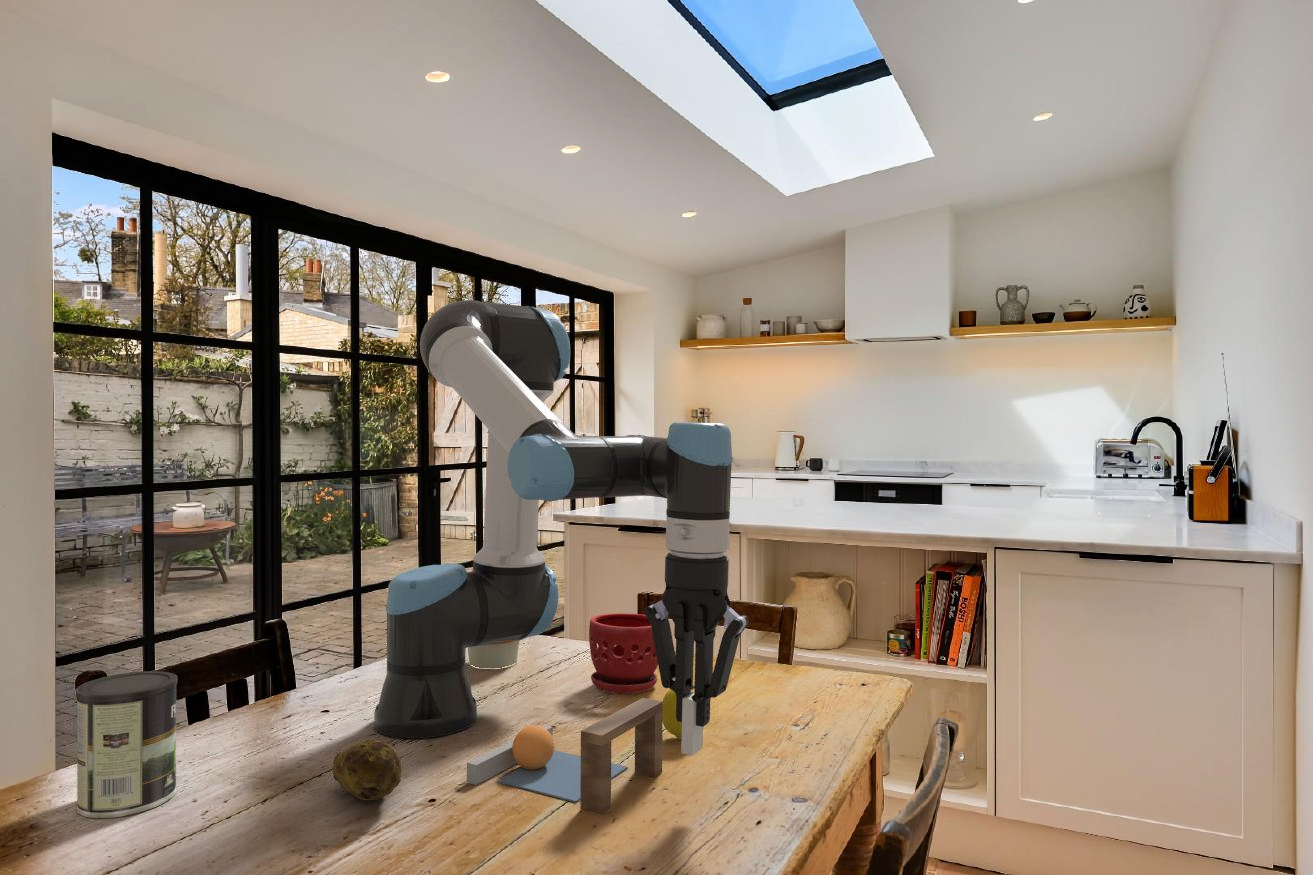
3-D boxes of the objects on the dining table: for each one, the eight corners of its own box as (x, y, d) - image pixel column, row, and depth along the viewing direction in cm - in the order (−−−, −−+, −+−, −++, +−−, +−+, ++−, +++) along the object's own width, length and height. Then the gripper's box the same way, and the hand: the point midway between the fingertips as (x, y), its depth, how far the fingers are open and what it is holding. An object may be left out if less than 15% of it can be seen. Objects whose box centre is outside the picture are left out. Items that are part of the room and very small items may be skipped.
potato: (403, 776, 107) (403, 713, 107) (401, 820, 95) (401, 750, 95) (334, 783, 105) (334, 719, 105) (323, 829, 93) (323, 757, 93)
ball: (544, 751, 106) (526, 784, 107) (568, 737, 111) (551, 769, 112) (514, 723, 108) (497, 756, 110) (539, 711, 113) (523, 743, 114)
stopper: (466, 782, 106) (466, 762, 106) (543, 742, 120) (543, 724, 120) (476, 784, 105) (476, 764, 105) (552, 744, 119) (552, 726, 119)
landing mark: (497, 781, 106) (497, 780, 106) (553, 751, 116) (553, 749, 116) (575, 802, 100) (575, 800, 100) (627, 768, 110) (627, 766, 110)
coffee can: (163, 775, 107) (164, 665, 107) (187, 800, 100) (188, 682, 100) (67, 799, 100) (67, 681, 100) (84, 828, 93) (85, 701, 93)
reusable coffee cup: (506, 651, 170) (507, 578, 170) (538, 665, 160) (538, 586, 160) (449, 661, 162) (449, 584, 162) (478, 676, 152) (478, 594, 152)
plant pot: (639, 703, 138) (639, 630, 138) (574, 690, 144) (574, 621, 144) (677, 683, 149) (677, 616, 149) (615, 672, 156) (615, 608, 156)
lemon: (695, 747, 118) (696, 690, 118) (657, 744, 119) (657, 688, 119) (701, 733, 123) (702, 679, 123) (664, 731, 124) (665, 677, 124)
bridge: (580, 809, 98) (580, 730, 98) (642, 767, 111) (642, 697, 111) (601, 815, 97) (602, 735, 97) (662, 771, 109) (662, 701, 109)
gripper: (633, 551, 99) (628, 749, 99) (734, 562, 92) (729, 774, 93) (663, 543, 105) (659, 729, 106) (760, 554, 99) (755, 751, 99)
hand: (692, 750), depth 99 cm, fingers closed
